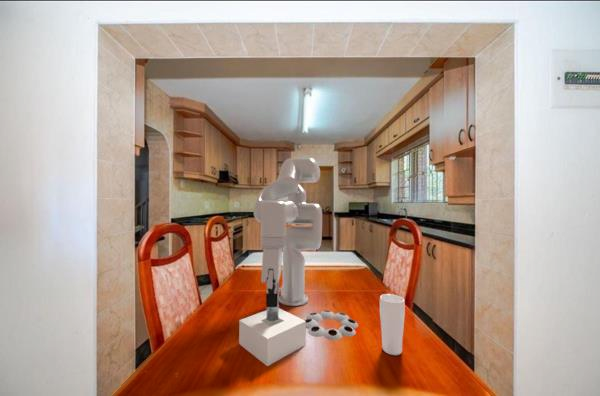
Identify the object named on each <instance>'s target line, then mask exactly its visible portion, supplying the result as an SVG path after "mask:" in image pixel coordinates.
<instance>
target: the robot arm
mask: <svg viewBox="0 0 600 396" xmlns="http://www.w3.org/2000/svg"><path fill="white" fill-rule="evenodd" d="M320 178H321V169H320V166H319V164H318V162H317V161H316V160H315V159H314V158H312V157H297V158H296V157H292V158H287V159H286V160H284V161H283V163H282V165H281V168H280V170H279V174H278V176H277V179H275V180H274V181H272V182H271V183H269V184H268V185H266V186H265V187H264V188H262V189H261V190H260V191H259V193H258V195H257V198H256V200H255V202H254V207H253V217H254V219H255V220H256V221H257V222H258V223H260V248H261V249H263V252H262V260H261V263H262V264H261V283H262V284H265V283H266V293H265V295H266V296H265V307H266V308H267V307H277V295H278V293H276V292H277V283H278V282H279V283H280V279H281V275H282V285H281V286H279V293H281V294H279V303H280V304H282V305H284V306H290V307H298V306H302V305H305V304H307V303H308V302H309V297H308V295H307V294H305V288H306V287H305V285H306V284H305V283H306V280H305V277H306V275H305V272H306V271H305V269H306V265H305V264H306V261H305V260H306V259H305V255H304V254H303V253H302V251H301V250H308V251H309V250H311V251H313V250H314V251H315V250H319V249H320V247H321V245H322V241H323V239H322V238H323V237H322V236H323V235H322V233H323V210H322V207H321V205H320V204H318V203H315V202H311V203H309V202H308V203H307V192H306V191H305V189H304V188H303V187H302V185H300V183H305V184H306V183H308V184H309V183H310V184H311V183H312V184H313V183H317V182H318V181H320ZM283 198H287V199H286V200H285V199H283ZM279 199H280V200H279ZM282 199H283V200H282ZM287 224H292V225H301V226H288V227H287ZM302 225H307V226H302ZM273 280H275V282H273ZM273 285H275V287H274V286H273Z"/></svg>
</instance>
